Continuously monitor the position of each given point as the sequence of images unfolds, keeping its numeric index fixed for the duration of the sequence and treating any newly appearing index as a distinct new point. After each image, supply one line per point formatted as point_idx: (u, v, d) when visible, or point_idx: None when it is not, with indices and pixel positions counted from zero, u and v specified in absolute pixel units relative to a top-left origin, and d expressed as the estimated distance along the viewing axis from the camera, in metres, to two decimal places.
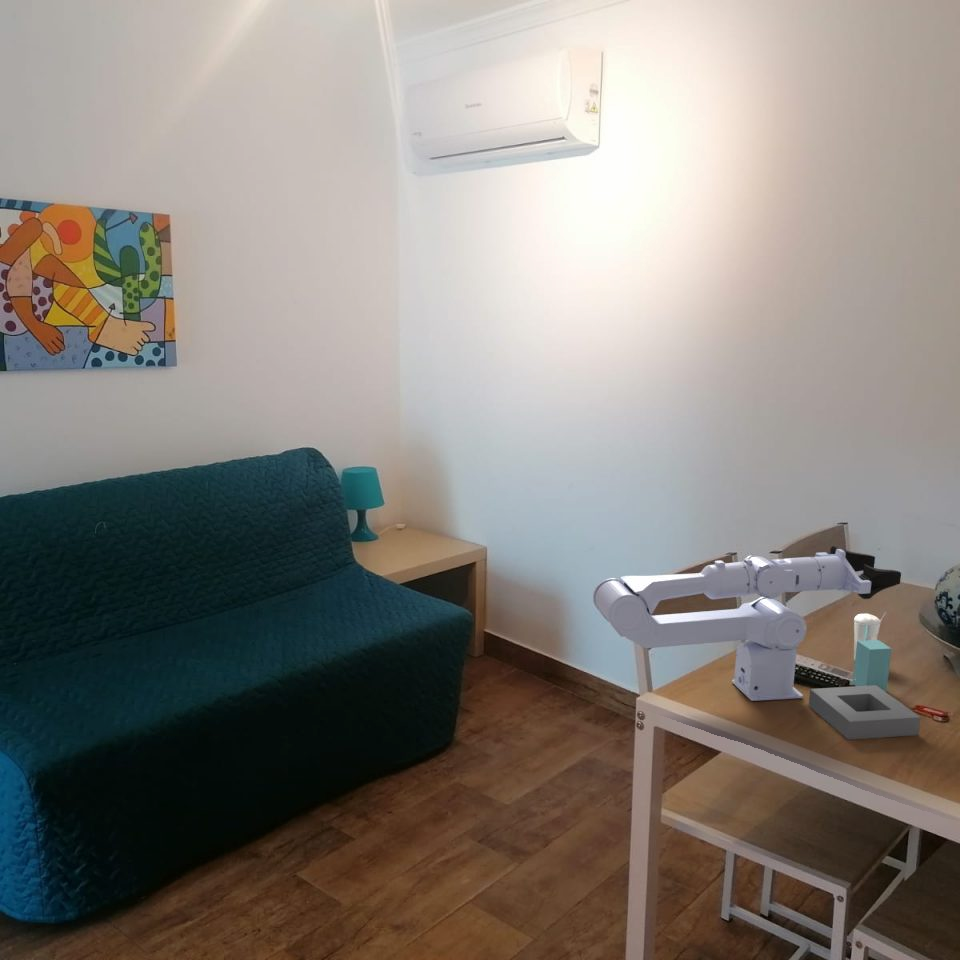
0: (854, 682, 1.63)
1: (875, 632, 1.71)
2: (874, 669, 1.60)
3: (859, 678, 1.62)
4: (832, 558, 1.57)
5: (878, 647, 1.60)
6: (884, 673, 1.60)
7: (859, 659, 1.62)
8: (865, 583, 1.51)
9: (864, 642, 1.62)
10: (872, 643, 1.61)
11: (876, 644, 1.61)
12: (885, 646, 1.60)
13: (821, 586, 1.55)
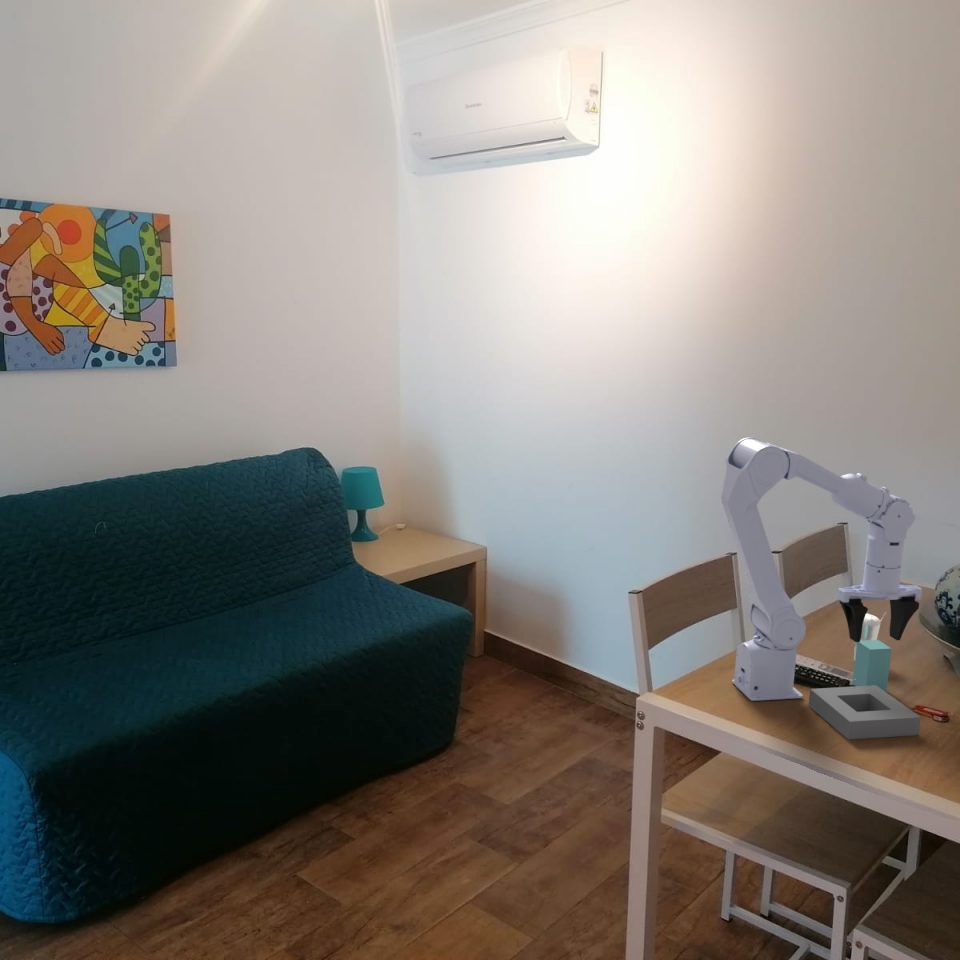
0: (854, 682, 1.63)
1: (876, 632, 1.71)
2: (874, 669, 1.60)
3: (859, 678, 1.62)
4: (888, 586, 1.56)
5: (878, 647, 1.60)
6: (884, 673, 1.60)
7: (859, 659, 1.62)
8: (843, 596, 1.57)
9: (864, 642, 1.62)
10: (872, 643, 1.61)
11: (876, 644, 1.61)
12: (885, 646, 1.60)
13: (865, 564, 1.59)
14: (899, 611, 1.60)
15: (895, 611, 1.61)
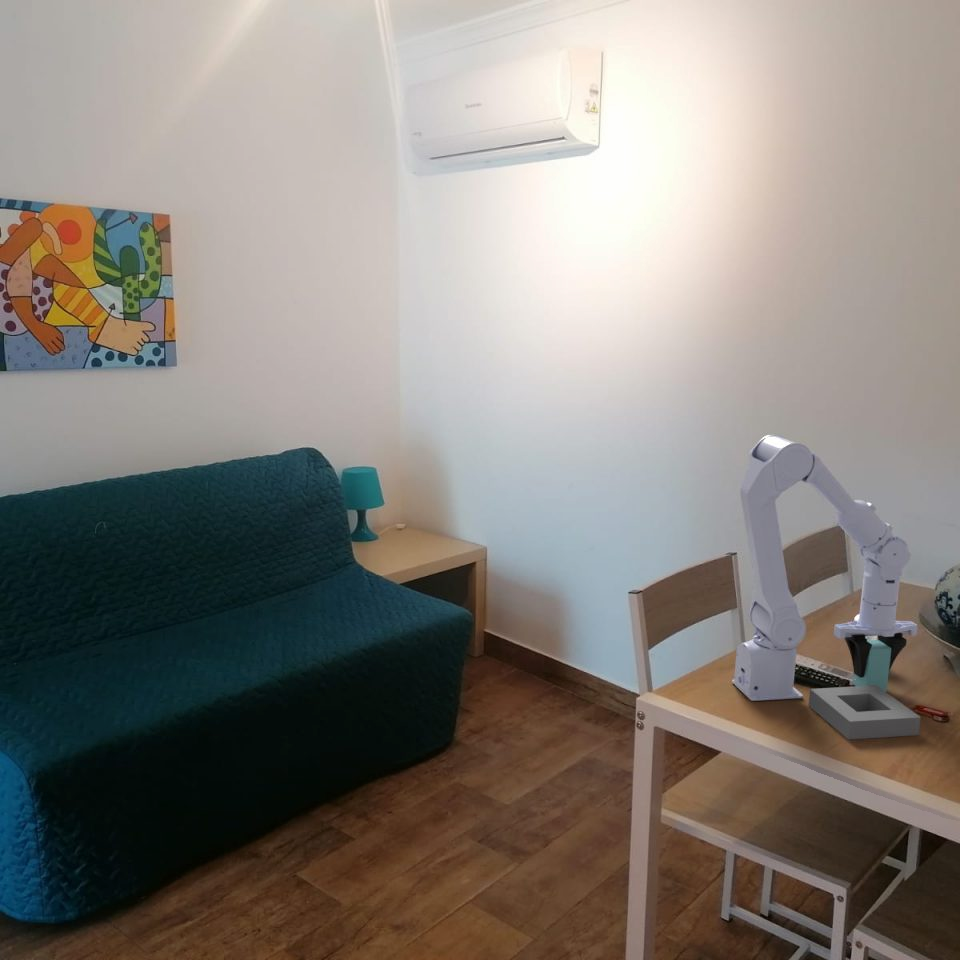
0: (854, 682, 1.63)
1: None
2: (874, 668, 1.60)
3: (859, 678, 1.62)
4: (883, 623, 1.57)
5: (878, 647, 1.60)
6: (884, 673, 1.60)
7: None
8: (839, 632, 1.58)
9: None
10: (872, 643, 1.61)
11: (876, 644, 1.61)
12: (885, 646, 1.60)
13: (861, 600, 1.60)
14: None
15: None
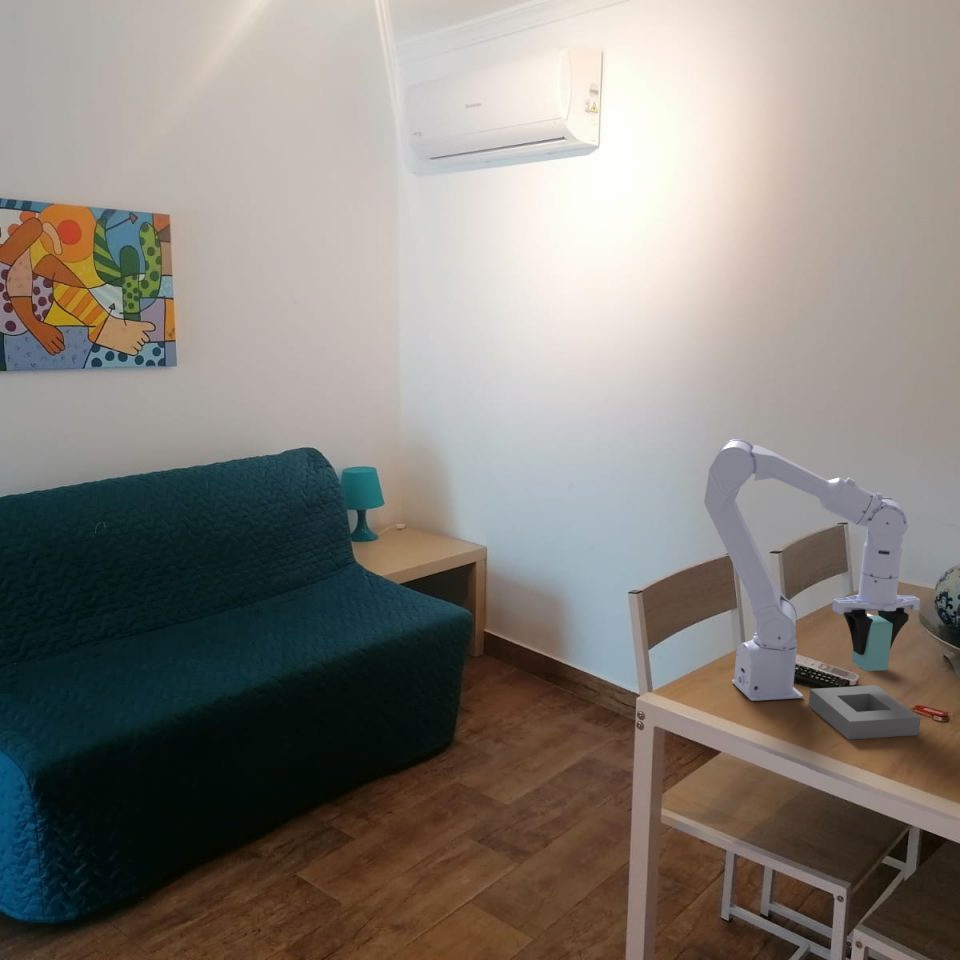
0: (854, 660, 1.55)
1: None
2: (875, 645, 1.51)
3: (859, 655, 1.54)
4: (885, 597, 1.49)
5: (878, 622, 1.52)
6: (885, 650, 1.52)
7: None
8: (838, 607, 1.50)
9: None
10: (872, 618, 1.53)
11: (876, 619, 1.53)
12: (886, 621, 1.52)
13: None
14: None
15: None
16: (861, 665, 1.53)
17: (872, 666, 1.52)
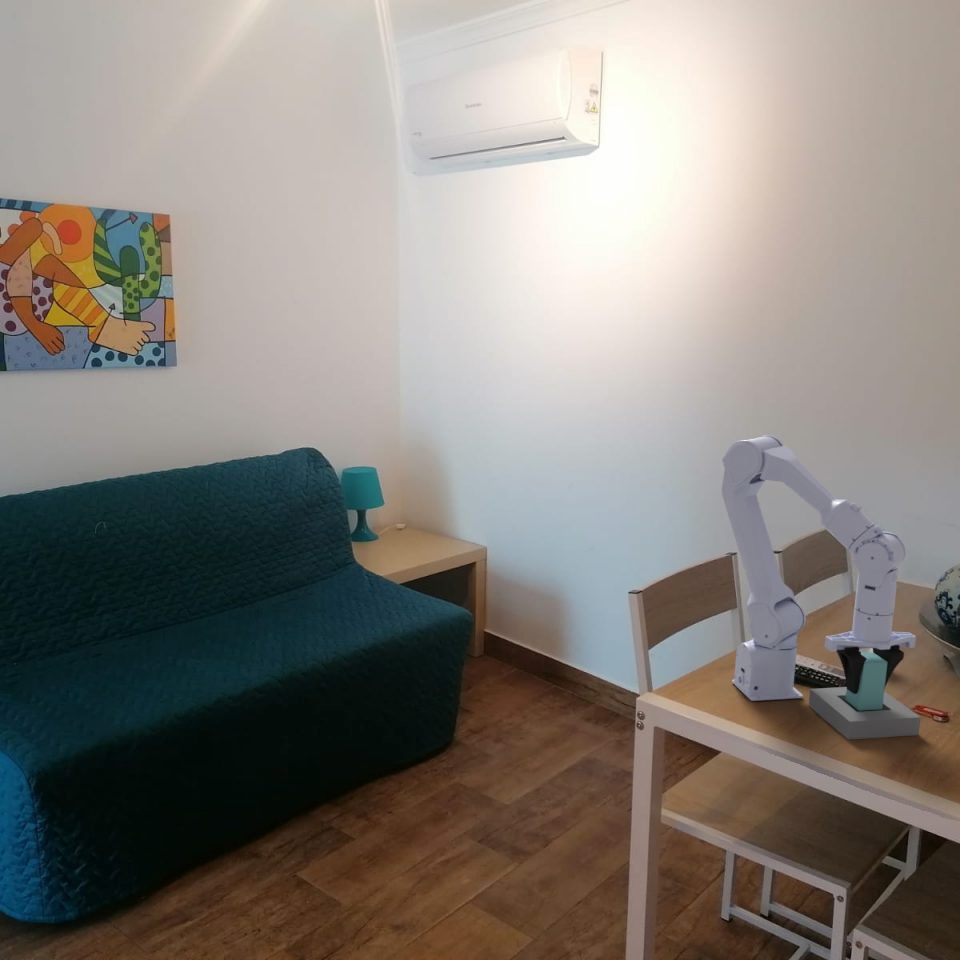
0: (847, 699, 1.50)
1: None
2: (868, 684, 1.47)
3: (852, 694, 1.49)
4: (879, 635, 1.44)
5: (872, 660, 1.47)
6: (879, 689, 1.47)
7: None
8: (830, 645, 1.45)
9: None
10: (866, 656, 1.48)
11: (871, 657, 1.48)
12: (880, 659, 1.47)
13: (854, 609, 1.47)
14: None
15: None
16: (855, 704, 1.48)
17: (866, 706, 1.47)
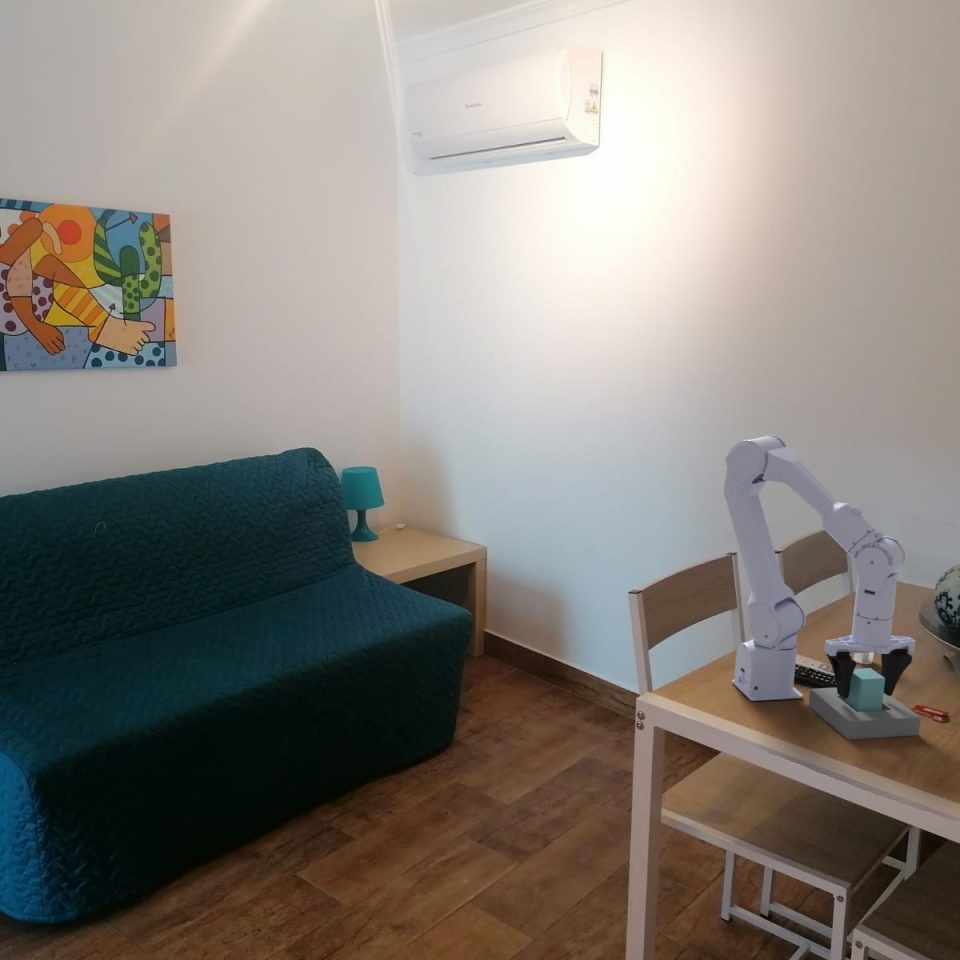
0: None
1: None
2: (866, 700, 1.47)
3: None
4: (878, 639, 1.44)
5: (870, 676, 1.47)
6: (877, 705, 1.48)
7: (850, 689, 1.49)
8: (830, 649, 1.46)
9: (855, 671, 1.49)
10: (864, 672, 1.49)
11: (868, 673, 1.49)
12: (878, 675, 1.48)
13: None
14: (891, 665, 1.48)
15: (886, 664, 1.49)
16: None
17: None
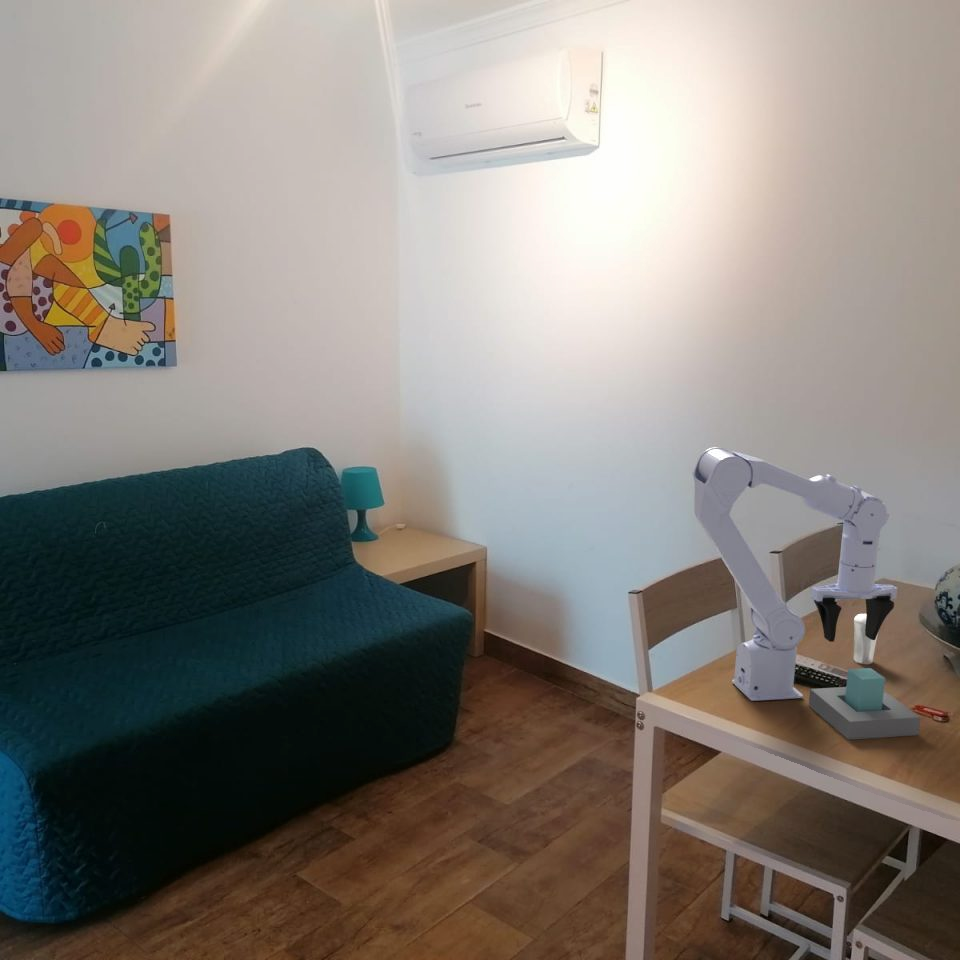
0: None
1: None
2: (866, 700, 1.47)
3: None
4: (862, 585, 1.55)
5: (870, 676, 1.47)
6: (877, 705, 1.48)
7: (850, 689, 1.49)
8: (816, 595, 1.56)
9: (856, 671, 1.49)
10: (864, 672, 1.49)
11: (868, 673, 1.49)
12: (878, 675, 1.48)
13: (839, 563, 1.58)
14: (874, 611, 1.58)
15: (870, 611, 1.60)
16: None
17: None
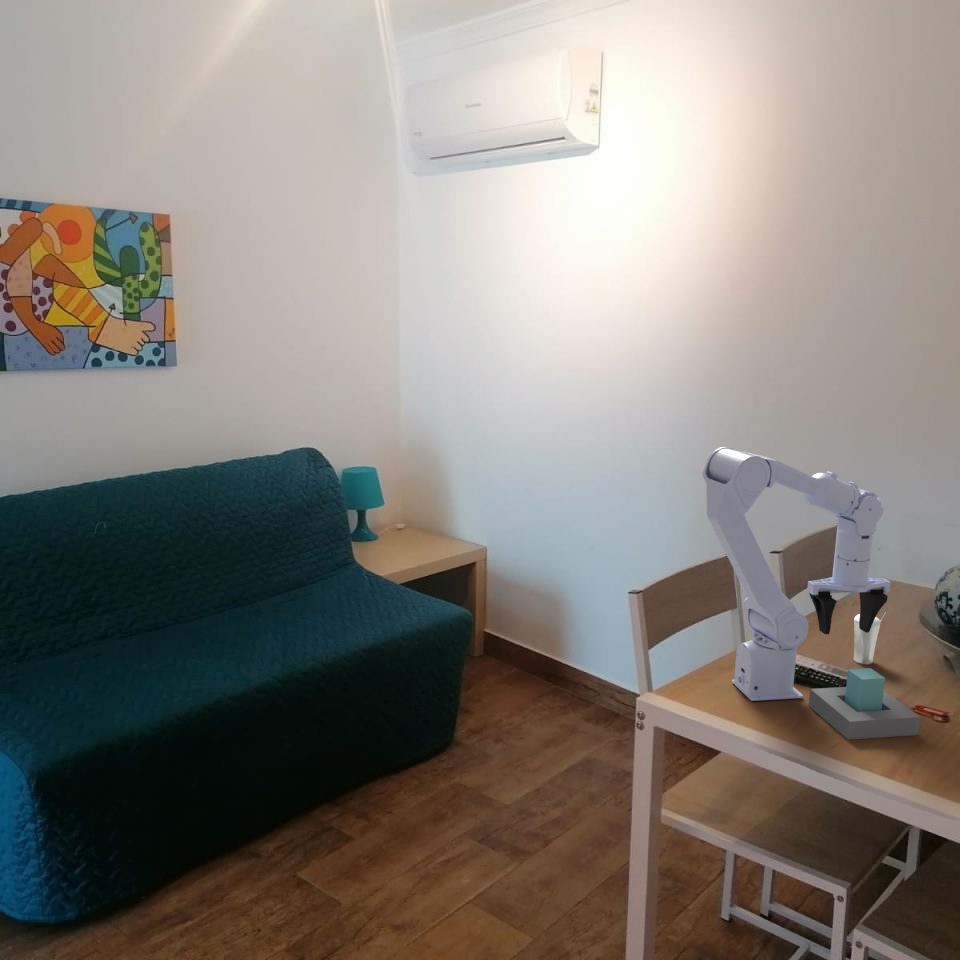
0: None
1: (876, 632, 1.71)
2: (866, 700, 1.47)
3: None
4: (856, 579, 1.58)
5: (870, 676, 1.47)
6: (877, 705, 1.48)
7: (850, 689, 1.49)
8: (812, 589, 1.59)
9: (855, 671, 1.49)
10: (864, 672, 1.49)
11: (868, 673, 1.49)
12: (878, 675, 1.48)
13: (834, 557, 1.61)
14: (868, 604, 1.62)
15: (864, 604, 1.63)
16: None
17: None
